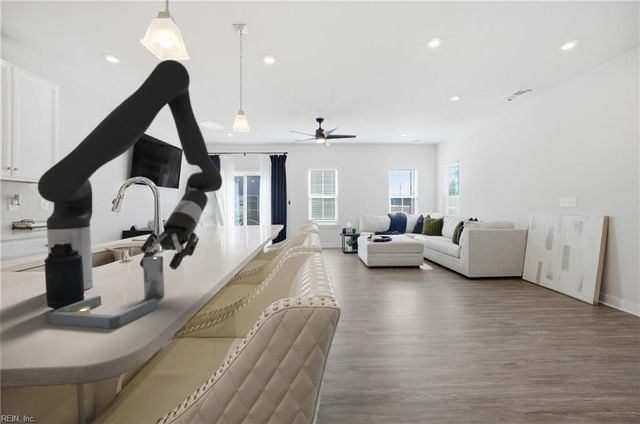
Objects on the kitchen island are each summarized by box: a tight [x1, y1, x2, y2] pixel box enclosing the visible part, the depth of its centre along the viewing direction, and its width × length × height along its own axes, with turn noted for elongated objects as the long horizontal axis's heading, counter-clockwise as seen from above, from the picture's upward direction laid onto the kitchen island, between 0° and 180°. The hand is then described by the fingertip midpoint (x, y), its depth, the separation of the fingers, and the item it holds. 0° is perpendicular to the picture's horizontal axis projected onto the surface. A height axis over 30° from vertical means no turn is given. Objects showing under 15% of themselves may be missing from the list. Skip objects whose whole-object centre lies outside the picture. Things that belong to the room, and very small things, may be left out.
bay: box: [44, 295, 158, 329], centre depth 64 cm, size 16×11×2 cm
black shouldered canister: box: [44, 243, 85, 310], centre depth 68 cm, size 7×7×15 cm
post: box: [142, 255, 165, 301], centre depth 75 cm, size 4×4×10 cm
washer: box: [67, 306, 92, 314], centre depth 63 cm, size 4×4×2 cm
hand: (157, 267), depth 77 cm, fingers open, 8 cm apart
